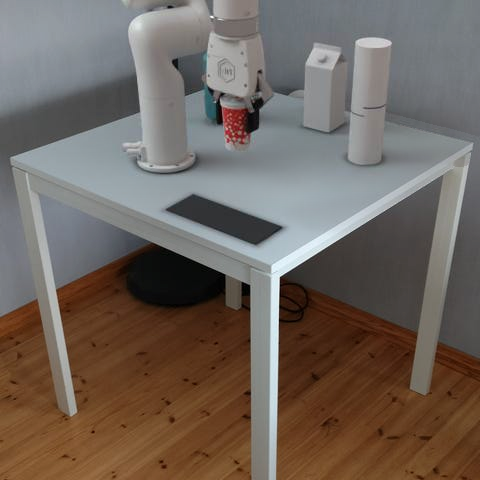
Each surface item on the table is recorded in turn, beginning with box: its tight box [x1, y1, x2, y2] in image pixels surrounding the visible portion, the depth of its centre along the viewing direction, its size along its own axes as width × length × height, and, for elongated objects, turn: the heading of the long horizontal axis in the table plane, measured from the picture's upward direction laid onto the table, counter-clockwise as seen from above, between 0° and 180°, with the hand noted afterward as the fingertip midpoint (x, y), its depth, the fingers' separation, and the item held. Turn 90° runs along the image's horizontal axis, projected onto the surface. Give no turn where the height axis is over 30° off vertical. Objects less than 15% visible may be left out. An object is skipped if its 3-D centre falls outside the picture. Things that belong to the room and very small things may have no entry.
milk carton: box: [302, 42, 349, 134], centre depth 183 cm, size 7×7×19 cm
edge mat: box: [165, 193, 283, 246], centre depth 150 cm, size 22×8×1 cm, turn 51°
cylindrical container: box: [347, 37, 393, 166], centre depth 166 cm, size 7×7×25 cm
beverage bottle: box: [202, 52, 216, 121], centre depth 186 cm, size 6×7×20 cm
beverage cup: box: [220, 94, 254, 152], centre depth 142 cm, size 6×6×14 cm
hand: (237, 125), depth 143 cm, fingers closed on beverage cup, 6 cm apart
